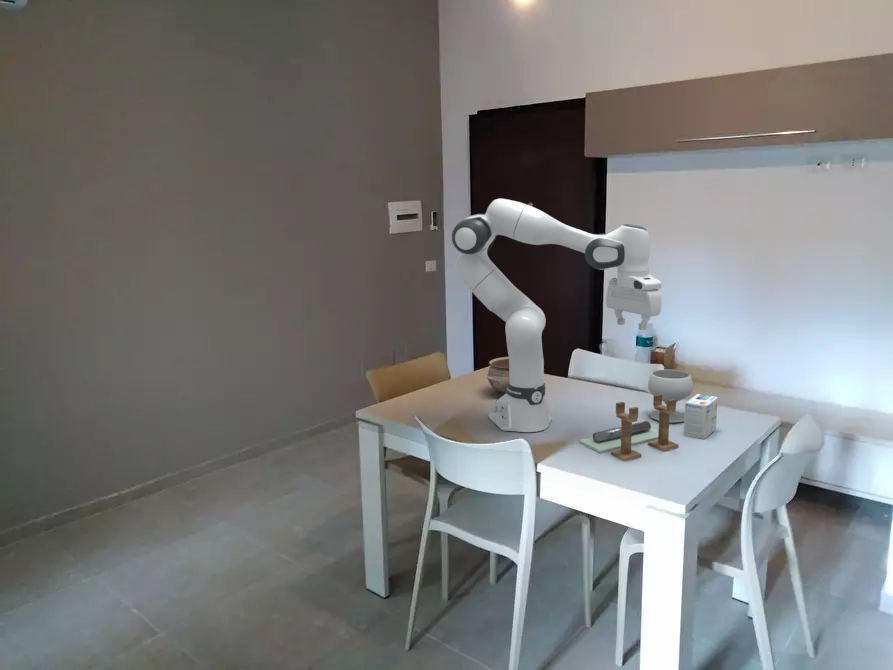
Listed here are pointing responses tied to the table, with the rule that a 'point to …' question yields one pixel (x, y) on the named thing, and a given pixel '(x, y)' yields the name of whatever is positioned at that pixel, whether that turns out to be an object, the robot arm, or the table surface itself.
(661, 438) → the hook stands
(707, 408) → the light bulb box
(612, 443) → the mat
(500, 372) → the cooking pot
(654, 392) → the chalice
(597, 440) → the rail
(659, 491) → the table surface
